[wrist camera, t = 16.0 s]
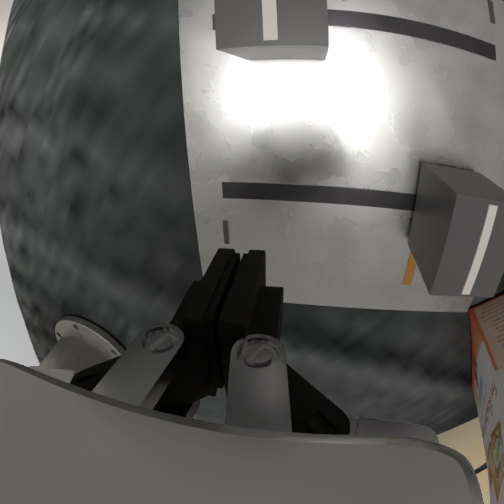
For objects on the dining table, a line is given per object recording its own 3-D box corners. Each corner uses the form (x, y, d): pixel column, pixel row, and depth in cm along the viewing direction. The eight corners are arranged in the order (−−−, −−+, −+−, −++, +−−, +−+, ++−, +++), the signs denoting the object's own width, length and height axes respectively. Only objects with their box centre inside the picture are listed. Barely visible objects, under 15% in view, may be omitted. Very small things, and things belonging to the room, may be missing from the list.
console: (459, 296, 20) (467, 313, 18) (213, 278, 24) (205, 295, 22) (498, 10, 9) (514, 6, 7) (191, -20, 13) (177, -29, 11)
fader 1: (325, 59, 13) (329, 46, 8) (246, 59, 13) (215, 49, 9) (320, -24, 10) (320, -66, 6) (242, -22, 11) (212, -58, 7)
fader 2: (462, 248, 16) (493, 298, 12) (407, 243, 17) (430, 296, 12) (479, 172, 13) (525, 207, 9) (421, 162, 14) (457, 194, 10)
